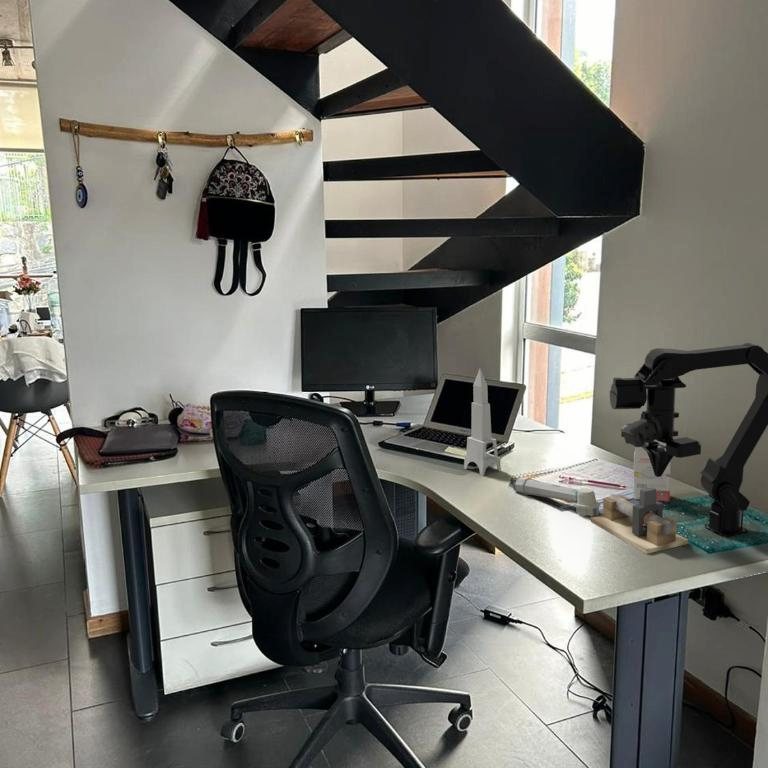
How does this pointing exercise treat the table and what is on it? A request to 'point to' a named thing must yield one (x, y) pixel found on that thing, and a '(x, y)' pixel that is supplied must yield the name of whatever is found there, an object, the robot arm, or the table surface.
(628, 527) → the pipe stand
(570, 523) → the table surface
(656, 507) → the collar
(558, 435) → the table surface
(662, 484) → the ink cartridge box
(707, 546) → the table surface
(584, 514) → the grey piece
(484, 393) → the sculpture
